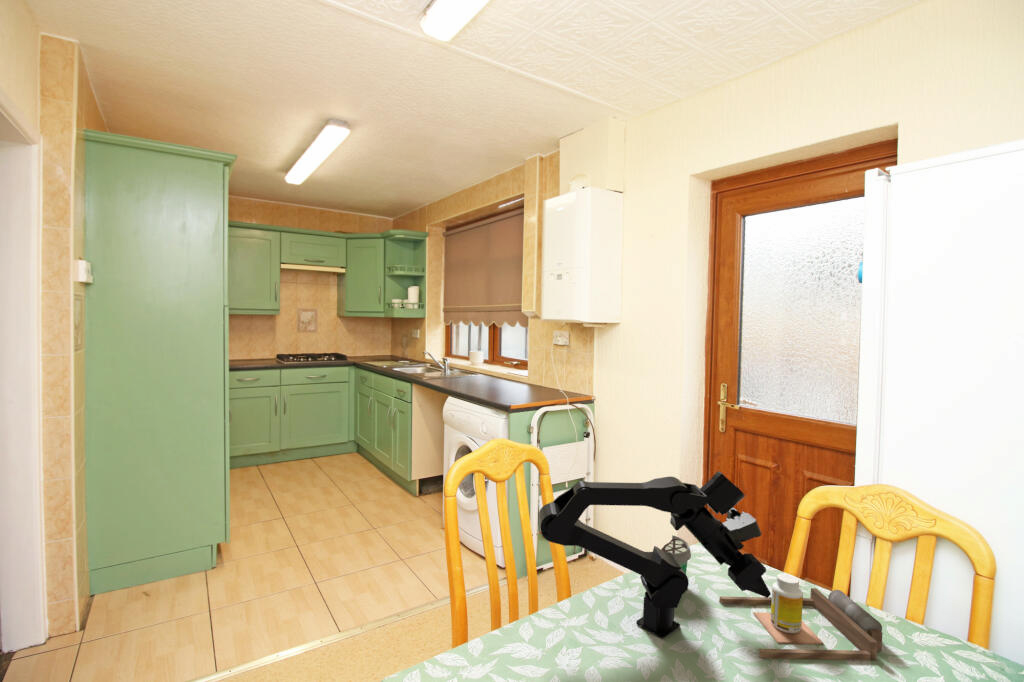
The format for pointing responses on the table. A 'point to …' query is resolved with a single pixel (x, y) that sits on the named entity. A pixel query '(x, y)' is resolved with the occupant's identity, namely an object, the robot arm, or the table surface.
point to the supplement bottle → (787, 604)
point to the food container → (679, 551)
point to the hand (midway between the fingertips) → (757, 583)
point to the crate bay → (837, 612)
